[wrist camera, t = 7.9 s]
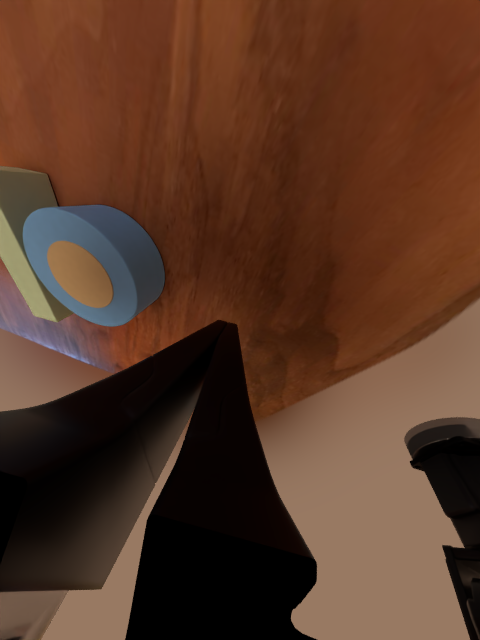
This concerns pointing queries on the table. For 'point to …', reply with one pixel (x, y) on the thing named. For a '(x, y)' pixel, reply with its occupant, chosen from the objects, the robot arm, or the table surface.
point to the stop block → (7, 236)
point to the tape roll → (94, 261)
